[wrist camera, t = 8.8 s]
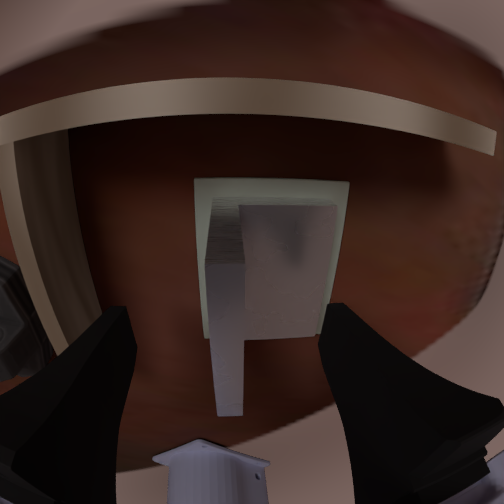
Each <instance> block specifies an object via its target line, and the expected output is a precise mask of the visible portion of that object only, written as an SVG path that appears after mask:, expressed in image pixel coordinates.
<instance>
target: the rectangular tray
mask: <svg viewBox="0 0 504 504" xmlns="http://www.w3.org/2000/svg"><path fill="white" fill-rule="evenodd" d="M349 185H350V182H348V181H334V180H316V179H293V178H250V177H219V178H194V195H195V220H196V240H197V257H198V272H199V285H200V298H201V310H202V321H203V331H204V338H210V336H209V324H208V311H207V297H206V282H205V265H204V264H205V255H206V247H207V239H208V231H209V223H210V215H211V208H212V201H213V197H284V198H321V199H331V200H332V201H333V202H334V203H335V204H336V205H337V206H338V209H337V216H336V223H335V230H334V236H333V243H332V249H331V255H330V261H329V267H328V272H327V278H326V283H325V289H324V294H323V299H322V304H321V309H320V314H319V319H318V323H317V328H316V333H315V334H321V329H322V325H323V320H324V316H325V311H326V307H327V304H329V301H330V297H331V292H332V287H333V282H334V277H335V272H336V267H337V261H338V256H339V250H340V245H341V239H342V233H343V226H344V220H345V213H346V207H347V200H348V192H349Z"/></svg>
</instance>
